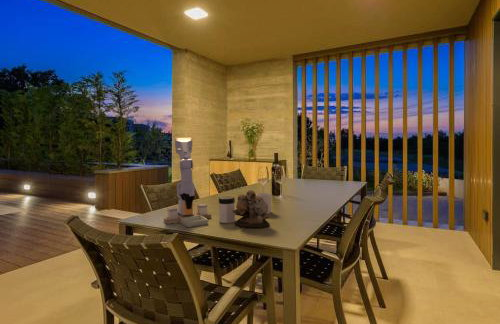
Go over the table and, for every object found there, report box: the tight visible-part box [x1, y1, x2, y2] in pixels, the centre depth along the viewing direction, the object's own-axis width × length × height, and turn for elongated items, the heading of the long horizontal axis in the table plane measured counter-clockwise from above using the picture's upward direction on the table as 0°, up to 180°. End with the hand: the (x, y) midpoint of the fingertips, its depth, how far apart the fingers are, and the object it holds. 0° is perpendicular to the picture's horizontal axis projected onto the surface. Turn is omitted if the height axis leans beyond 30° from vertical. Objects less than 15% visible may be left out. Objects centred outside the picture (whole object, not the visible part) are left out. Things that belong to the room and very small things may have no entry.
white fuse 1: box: [167, 206, 179, 220], centre depth 157 cm, size 4×4×7 cm
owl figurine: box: [233, 189, 271, 230], centre depth 147 cm, size 18×12×17 cm, turn 77°
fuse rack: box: [163, 212, 212, 225], centre depth 161 cm, size 7×23×2 cm, turn 120°
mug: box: [256, 192, 272, 215], centre depth 174 cm, size 12×8×10 cm, turn 78°
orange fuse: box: [183, 200, 194, 215], centre depth 161 cm, size 4×4×7 cm
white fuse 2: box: [196, 203, 208, 215], centre depth 165 cm, size 4×4×7 cm
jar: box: [218, 195, 236, 224], centre depth 156 cm, size 9×8×12 cm
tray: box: [180, 215, 209, 228], centre depth 153 cm, size 11×11×2 cm
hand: (187, 208), depth 161 cm, fingers closed on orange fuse, 4 cm apart
